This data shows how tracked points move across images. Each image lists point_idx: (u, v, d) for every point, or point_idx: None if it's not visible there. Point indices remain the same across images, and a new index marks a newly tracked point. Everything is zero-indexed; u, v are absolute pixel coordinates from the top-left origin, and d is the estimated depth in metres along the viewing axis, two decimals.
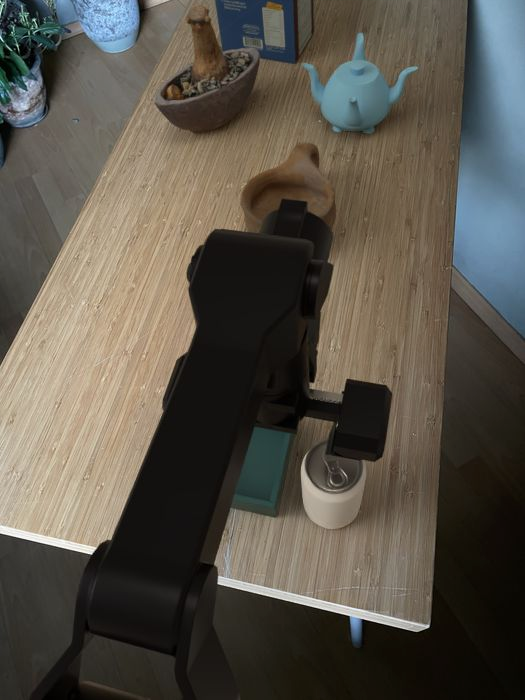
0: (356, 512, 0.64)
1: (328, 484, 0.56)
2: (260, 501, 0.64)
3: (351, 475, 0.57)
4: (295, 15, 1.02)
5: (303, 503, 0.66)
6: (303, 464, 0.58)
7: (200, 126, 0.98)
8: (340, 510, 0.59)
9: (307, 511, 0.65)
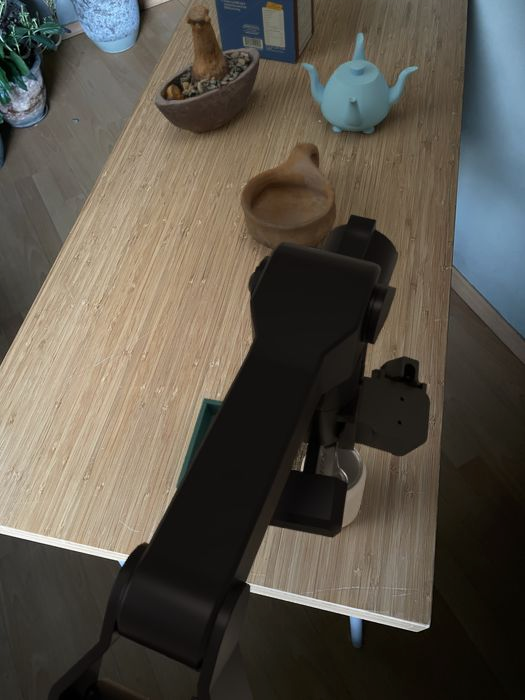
0: (356, 512, 0.64)
1: None
2: None
3: (351, 475, 0.57)
4: (295, 15, 1.02)
5: None
6: (303, 464, 0.58)
7: (200, 126, 0.98)
8: None
9: None
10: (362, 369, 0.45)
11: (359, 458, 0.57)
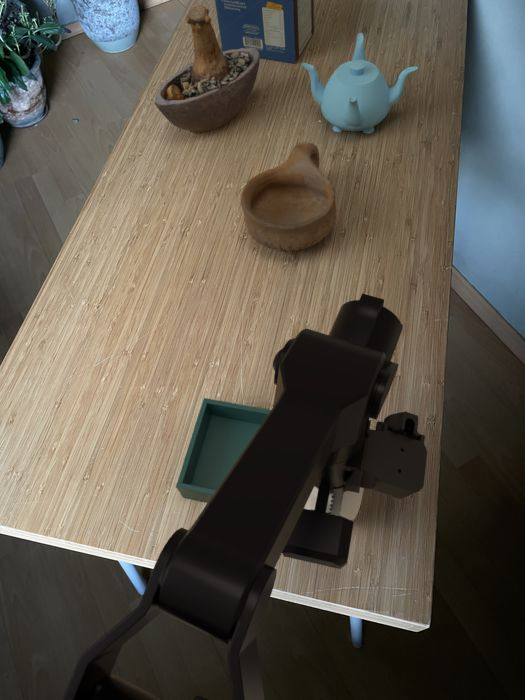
0: (356, 512, 0.64)
1: None
2: None
3: None
4: (295, 15, 1.02)
5: None
6: None
7: (200, 126, 0.98)
8: (340, 510, 0.59)
9: None
10: (368, 424, 0.52)
11: None
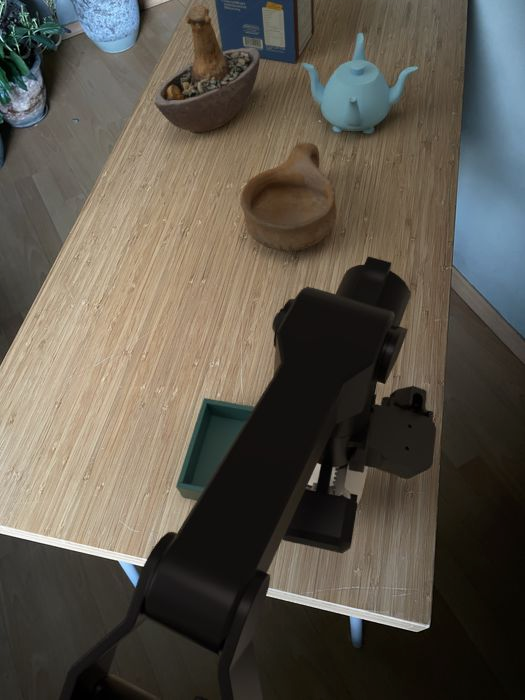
0: (359, 497, 0.60)
1: None
2: None
3: None
4: (295, 15, 1.02)
5: None
6: None
7: (200, 126, 0.98)
8: None
9: None
10: (373, 398, 0.48)
11: None
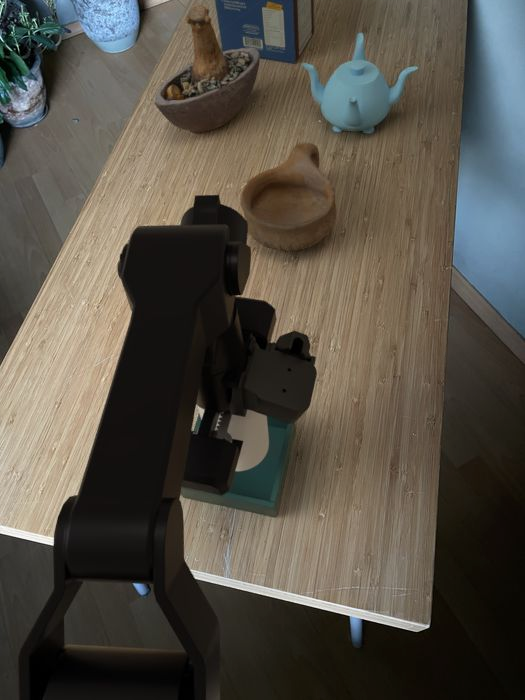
0: (261, 451, 0.61)
1: None
2: (260, 501, 0.64)
3: None
4: (295, 15, 1.02)
5: None
6: None
7: (200, 126, 0.98)
8: (237, 439, 0.56)
9: None
10: (251, 341, 0.49)
11: None
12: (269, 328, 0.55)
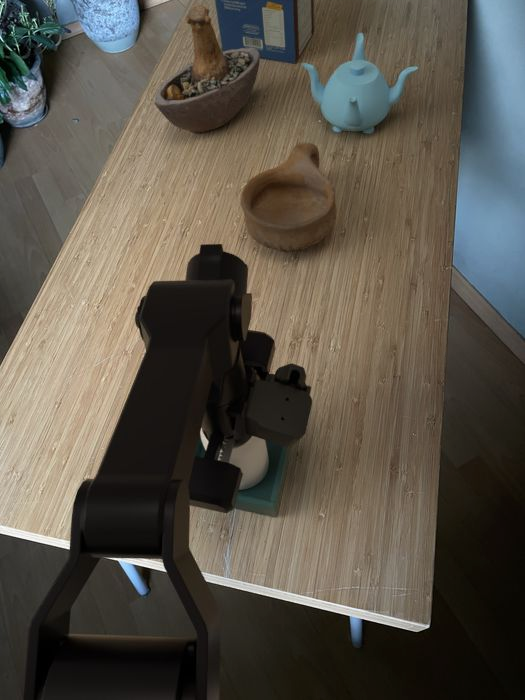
0: (261, 472, 0.66)
1: None
2: (260, 501, 0.64)
3: None
4: (295, 15, 1.02)
5: None
6: None
7: (200, 126, 0.98)
8: None
9: None
10: (252, 374, 0.54)
11: None
12: (269, 358, 0.61)
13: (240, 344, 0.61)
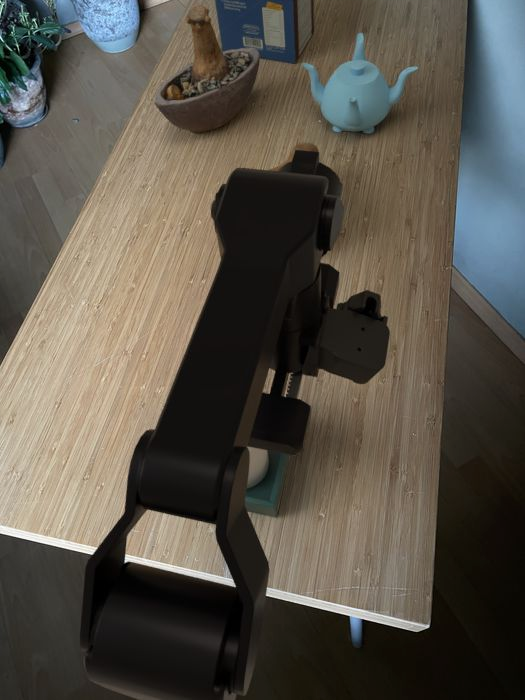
0: (261, 472, 0.66)
1: None
2: (260, 501, 0.64)
3: None
4: (295, 15, 1.02)
5: None
6: None
7: (200, 126, 0.98)
8: None
9: None
10: (325, 299, 0.48)
11: None
12: (335, 291, 0.55)
13: None
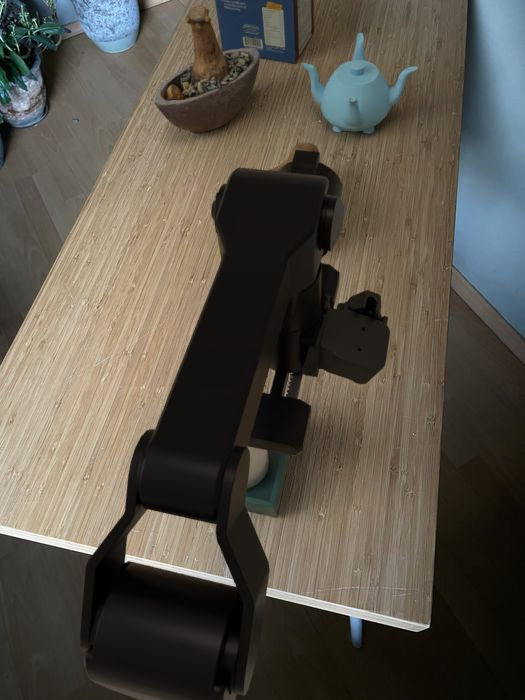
0: (261, 472, 0.66)
1: None
2: (260, 501, 0.64)
3: None
4: (295, 15, 1.02)
5: None
6: None
7: (200, 126, 0.98)
8: None
9: None
10: (326, 299, 0.48)
11: None
12: (335, 291, 0.55)
13: None
